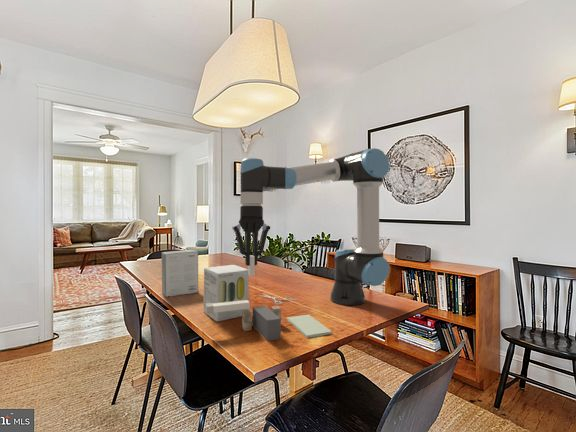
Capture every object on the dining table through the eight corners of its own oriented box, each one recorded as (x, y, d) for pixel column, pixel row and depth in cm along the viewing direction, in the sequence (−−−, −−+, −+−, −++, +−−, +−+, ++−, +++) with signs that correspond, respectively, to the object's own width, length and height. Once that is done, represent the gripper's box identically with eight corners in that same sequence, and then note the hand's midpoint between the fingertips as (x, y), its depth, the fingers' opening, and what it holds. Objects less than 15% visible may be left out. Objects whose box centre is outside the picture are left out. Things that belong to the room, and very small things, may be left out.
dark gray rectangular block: (264, 323, 108) (264, 305, 108) (280, 339, 95) (280, 318, 95) (252, 325, 106) (252, 307, 106) (267, 341, 93) (267, 320, 93)
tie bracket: (277, 322, 109) (278, 305, 108) (280, 325, 106) (281, 308, 106) (242, 327, 104) (242, 310, 104) (244, 330, 101) (244, 312, 101)
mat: (308, 316, 115) (308, 314, 115) (331, 333, 99) (331, 331, 99) (286, 319, 111) (286, 317, 111) (306, 337, 96) (306, 335, 96)
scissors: (281, 304, 128) (249, 295, 141) (281, 306, 128) (249, 296, 141) (297, 299, 136) (266, 290, 149) (297, 301, 136) (266, 292, 149)
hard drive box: (194, 289, 153) (194, 249, 152) (198, 292, 146) (198, 251, 146) (161, 293, 144) (161, 251, 144) (164, 297, 138) (164, 253, 137)
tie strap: (247, 306, 104) (247, 299, 104) (249, 309, 101) (250, 302, 101) (205, 310, 99) (205, 303, 99) (206, 314, 96) (206, 306, 96)
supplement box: (216, 322, 108) (216, 273, 108) (203, 312, 119) (203, 267, 119) (249, 315, 116) (249, 269, 116) (234, 306, 127) (234, 264, 126)
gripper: (266, 205, 108) (266, 271, 109) (230, 205, 103) (229, 274, 104) (273, 205, 101) (273, 275, 102) (234, 204, 96) (234, 278, 97)
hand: (251, 274), depth 103 cm, fingers closed
